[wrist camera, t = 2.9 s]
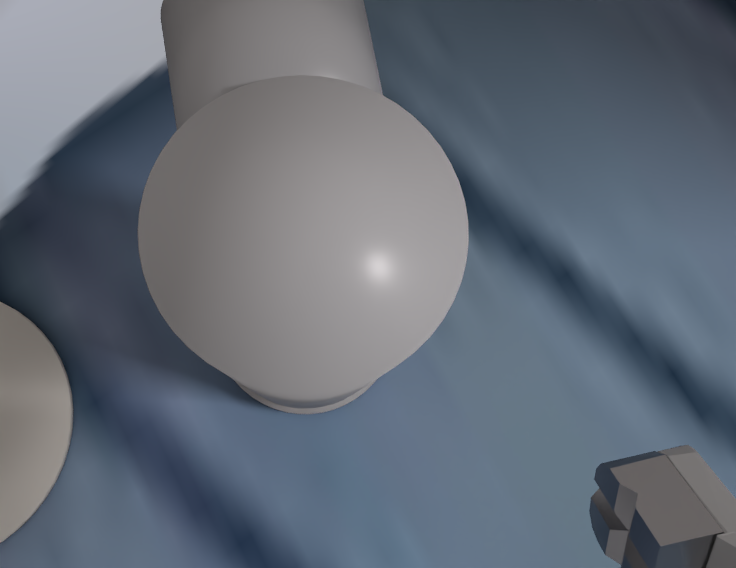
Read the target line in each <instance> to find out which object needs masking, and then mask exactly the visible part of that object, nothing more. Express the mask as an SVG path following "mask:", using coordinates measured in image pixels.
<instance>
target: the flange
mask: <svg viewBox="0 0 736 568" xmlns="http://www.w3.org/2000/svg"><path fill="white" fill-rule="evenodd" d="M72 429H73V401H72V392H71V388H70V383H69V379H68V376H67V373H66V370H65V368H64V365H63V363H62V360H61V358H60V357H59V355H58V353H57V351H56V350H55V348H54V346H53V345H52V343H51V342H50V341H49V339H48V338H47V337H46V336H45V334H44V333H43V332H42V331H41V330H40V329H39V328H38V327H37V326H36V325H35V324H34V323H33V322H32V321H31V320H29V319H28V318H27V317H25V316H24V315H23V314H21V313H20V312H18V311H17V310H15V309H13V308H11V307H9V306H8V305H6V304H4V303H2V302H0V543H1V542H3V541H4V540H6V539H7V538H8V537H9V536H11V535H12V534H13V533H14V532H16V531H17V530H18V529H20V528H21V527H22V526H23V525H24V524H25V523H26V521H27V520H28V519H29V518H30V517H31V516H32V515H33V514H34V513H35V512H36V511H37V509H38V508H39V507H40V506H41V504H42V503H43V502H44V500H45V499H46V498H47V496H48V494H49V493H50V491H51V489H52V488H53V486H54V485H55V483H56V481H57V479H58V477H59V474H60V472H61V470H62V468H63V466H64V463H65V459H66V456H67V453H68V450H69V446H70V441H71V435H72Z"/></svg>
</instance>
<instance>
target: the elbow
mask: <svg viewBox="0 0 736 568" xmlns="http://www.w3.org/2000/svg"><path fill="white" fill-rule="evenodd" d="M161 23H162V30H163V37H164V44H165V51H166V58H167V65H168V72H169V79H170V86H171V92H172V99H173V106H174V113H175V120H176V127H177V131H176V132H175V133H174V135H173V136H172V137H171V139H170V140H169V141H168V143H167V144H166V146H165V147H164V148H163V150H162V151H161V153H160V155H159V157H158V158H157V160H156V162H155V164H154V166H153V168H152V170H151V172H150V175H149V178H148V180H147V183H146V186H145V188H144V192H143V196H142V201H141V205H140V210H139V222H138V245H139V255H140V260H141V265H142V270H143V274H144V277H145V280H146V283H147V286H148V289H149V291H150V294H151V296H152V298H153V300H154V302H155V304H156V306H157V308H158V310H159V312H160V314H161V315H162V316H163V318H164V319H165V321H166V322H167V323H168V325H169V326H170V328H171V329H172V330H173V332H174V333H175V334H176V335H177V336H178V337H179V338H180V339H181V340H182V341H183V342H184V344H185V345H186V346H187V347H188V348H189V349H191V350H192V351H193V352H194V353H196V354H197V355H198V356H199V357H200V358H202V359H203V360H204V361H205V362H207V363H208V364H210V365H212V366H213V367H215V368H216V369H218V370H220V371H221V372H223V373H224V374H226V375H227V376H229V377H231V378H232V379H234V381H235V382H236V383H237V384H238V385H239V386H240V387H241V388H242V389H243V390H244V391H245V392H246V393H248V394H249V395H250V396H251V397H253V398H254V399H256V400H258V401H259V402H261V403H262V404H264V405H267V406H269V407H271V408H274V409H276V410H280V411H283V412H287V413H294V414H316V413H323V412H327V411H330V410H334V409H336V408H339V407H341V406H344V405H346V404H347V403H349V402H351V401H353V400H354V399H356V398H357V397H359V396H360V395H361V394H363V393H364V392H365V391H366V390H367V389H368V388H369V387H370V386H371V385H372V384H373V383H374V382H375V381H376V380H377V378H379V377H380V376H382V375H383V374H385V373H386V372H388V371H389V370H391V369H393V368H394V367H396V366H397V365H398V364H400V363H401V362H402V361H404V360H405V359H406V358H408V357H409V356H410V355H412V354H413V353H414V352H415V351H416V350H417V349H418V348H419V347H420V346H421V345H422V344H423V343H424V342H425V341H426V340H427V339H429V338H430V336H431V335H432V334H433V332H434V331H435V330H436V329H437V327H438V326H439V325H440V323H441V322H442V321H443V319H444V317H445V316H446V314H447V312H448V310H449V309H450V307H451V305H452V303H453V302H454V299H455V297H456V294H457V292H458V289H459V287H460V284H461V281H462V277H463V273H464V269H465V265H466V260H467V252H468V243H469V239H468V218H467V211H466V205H465V200H464V197H463V193H462V190H461V186H460V183H459V180H458V178H457V176H456V174H455V171H454V169H453V167H452V165H451V163H450V161H449V159H448V158H447V156H446V154H445V153H444V151H443V149H442V148H441V146H440V145H439V144H438V143H437V141H436V140H435V139H434V137H433V136H432V135H431V134H430V132H429V131H428V130H427V129H426V128H425V127H424V126H423V125H422V124H421V123H420V122H419V121H418V120H417V119H416V118H415V117H414V116H412V115H411V114H410V113H408V112H407V111H406V110H405V109H403V108H402V107H401V106H399V105H398V104H396V103H395V102H393V101H391V100H390V99H388V98H386V97H385V96H383V92H382V88H381V83H380V78H379V73H378V68H377V63H376V58H375V54H374V49H373V44H372V39H371V34H370V29H369V24H368V20H367V15H366V10H365V5H364V0H164V1H163V3H162V7H161Z"/></svg>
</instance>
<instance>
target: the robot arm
mask: <svg viewBox="0 0 736 568" xmlns="http://www.w3.org/2000/svg"><path fill="white" fill-rule="evenodd" d="M594 480H595V481H596V483H597V485H598V486H599V489H598V490H597V492H596V493H595V494H594V495H593V496H592V497H591V502H590V510H589V512H590V517H591V523H592V528H593V531H594V533H595V536H596V538H597V541H598V543H599V544H600V546H601V548H602V550H603V552H604V554H605V555H606V556H608V557H610V558H611V559H613V560H614V561H616V562H617V563H619V564H621V568H736V499H735V498H734V496H733V495H732V494H731V493H730V491H729V490H728V489H727V488H726V487H725V485H724V484H723V483H722V482H721V480H720V479H719V478H718V477H717V476H716V474H715V473H714V472H713V471H712V470H711V468H710V467H709V466H708V465H707V463H706V462H705V461H704V460H703V459H702V457H701V456H700V455H699V454H698V452H697V451H696V450H695V449H694V448H692V447H690V446H689V445H684V446H679V447H674V448H670V449H666V450H662V451H658V452H656V451H653V452H648V453H644V454H640V455H636V456H631V457H627V458H623V459H618V460H614V461H610V462H606V463H601V464H600V465H599V466H598V467H597V468H596V473H595V478H594Z"/></svg>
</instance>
